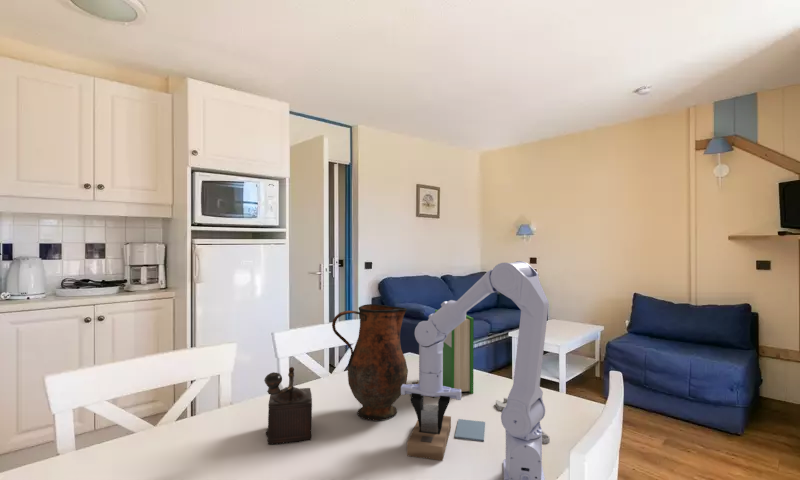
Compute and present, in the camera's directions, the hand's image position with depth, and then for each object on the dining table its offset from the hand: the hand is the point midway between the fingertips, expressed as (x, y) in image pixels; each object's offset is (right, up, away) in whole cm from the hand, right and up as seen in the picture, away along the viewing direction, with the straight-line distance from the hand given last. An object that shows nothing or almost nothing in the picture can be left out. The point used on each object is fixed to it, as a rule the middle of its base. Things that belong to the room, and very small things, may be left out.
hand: (430, 426), depth 97 cm
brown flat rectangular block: (0, -4, 0) cm, 4 cm away
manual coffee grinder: (-35, -4, +1) cm, 35 cm away
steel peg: (0, -4, 0) cm, 4 cm away
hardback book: (+11, -4, +39) cm, 40 cm away
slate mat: (+11, -4, +6) cm, 13 cm away
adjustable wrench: (+25, -4, +12) cm, 28 cm away
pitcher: (-16, -4, +15) cm, 22 cm away
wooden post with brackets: (0, -4, +28) cm, 28 cm away
